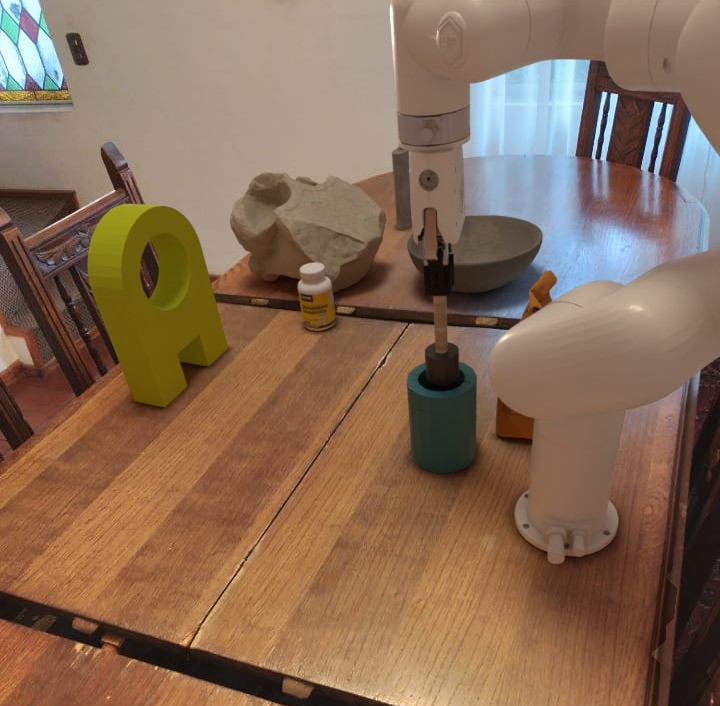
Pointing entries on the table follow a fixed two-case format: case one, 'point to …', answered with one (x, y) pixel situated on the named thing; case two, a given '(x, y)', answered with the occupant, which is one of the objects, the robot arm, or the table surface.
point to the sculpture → (308, 227)
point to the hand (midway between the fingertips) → (439, 289)
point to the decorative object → (154, 299)
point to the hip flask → (402, 188)
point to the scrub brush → (441, 349)
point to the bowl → (488, 252)
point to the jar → (442, 420)
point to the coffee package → (506, 418)
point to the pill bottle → (316, 297)
